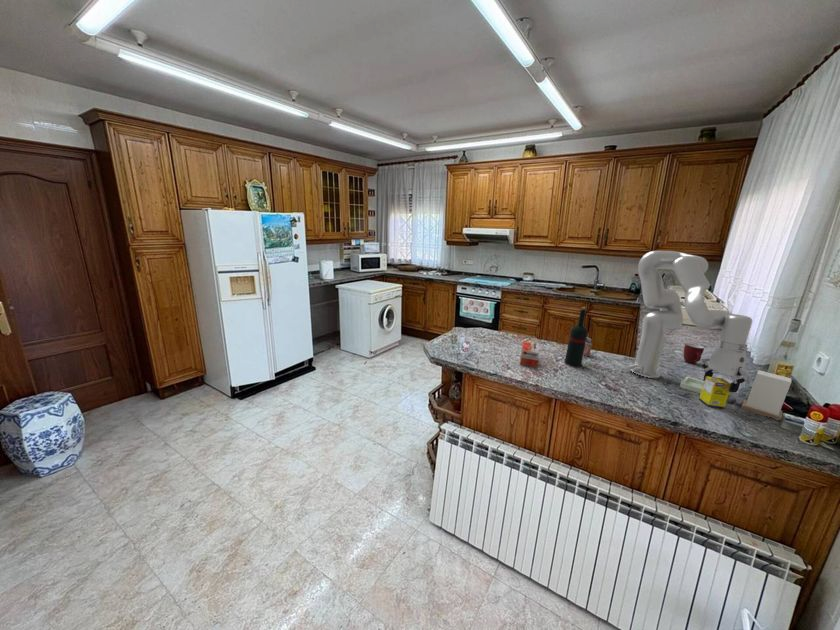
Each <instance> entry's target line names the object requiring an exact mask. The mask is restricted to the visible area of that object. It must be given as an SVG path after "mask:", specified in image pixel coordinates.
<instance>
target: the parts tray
mask: <svg viewBox="0 0 840 630" xmlns="http://www.w3.org/2000/svg"><path fill="white" fill-rule="evenodd" d="M704 382H705V381H703V380H700V379H697V378H693V377H690V376H685V378H684V379H683V380H682V381H681V382H680V385H679V388H680V387H681V389H683V390H686V391H690V392H694V393H697V394H699V395H700V394H701V391H702V388H703V385H704Z"/></svg>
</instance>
